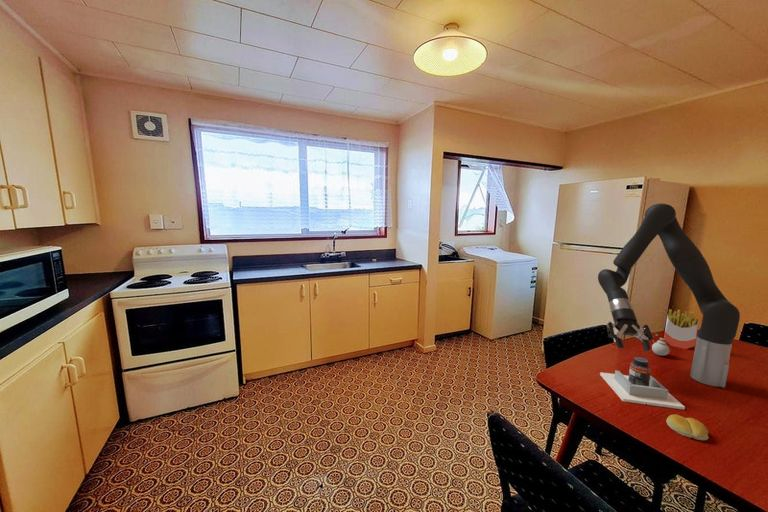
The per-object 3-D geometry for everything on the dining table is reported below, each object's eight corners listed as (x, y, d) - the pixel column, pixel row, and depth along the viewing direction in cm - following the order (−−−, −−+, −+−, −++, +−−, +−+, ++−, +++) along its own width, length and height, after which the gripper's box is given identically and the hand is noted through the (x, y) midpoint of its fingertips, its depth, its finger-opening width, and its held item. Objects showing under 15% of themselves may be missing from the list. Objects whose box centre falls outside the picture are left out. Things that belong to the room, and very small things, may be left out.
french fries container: (694, 351, 143) (700, 315, 141) (663, 344, 151) (668, 310, 148) (693, 347, 147) (699, 312, 144) (663, 341, 154) (668, 308, 151)
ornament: (667, 359, 135) (670, 338, 134) (646, 353, 141) (648, 333, 139) (669, 355, 139) (672, 335, 138) (648, 349, 145) (651, 330, 143)
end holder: (599, 374, 122) (601, 364, 122) (651, 380, 118) (653, 370, 117) (622, 401, 105) (624, 389, 105) (684, 409, 101) (686, 397, 100)
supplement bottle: (643, 384, 114) (647, 357, 112) (651, 393, 108) (655, 364, 106) (624, 381, 116) (628, 354, 114) (631, 390, 110) (635, 361, 108)
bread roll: (663, 417, 97) (664, 406, 97) (701, 428, 93) (703, 416, 92) (670, 433, 90) (672, 421, 90) (712, 445, 86) (714, 433, 85)
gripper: (606, 306, 123) (617, 344, 114) (646, 308, 120) (661, 348, 111) (599, 314, 129) (609, 350, 120) (637, 316, 126) (651, 354, 116)
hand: (634, 349), depth 115 cm, fingers open, 8 cm apart
